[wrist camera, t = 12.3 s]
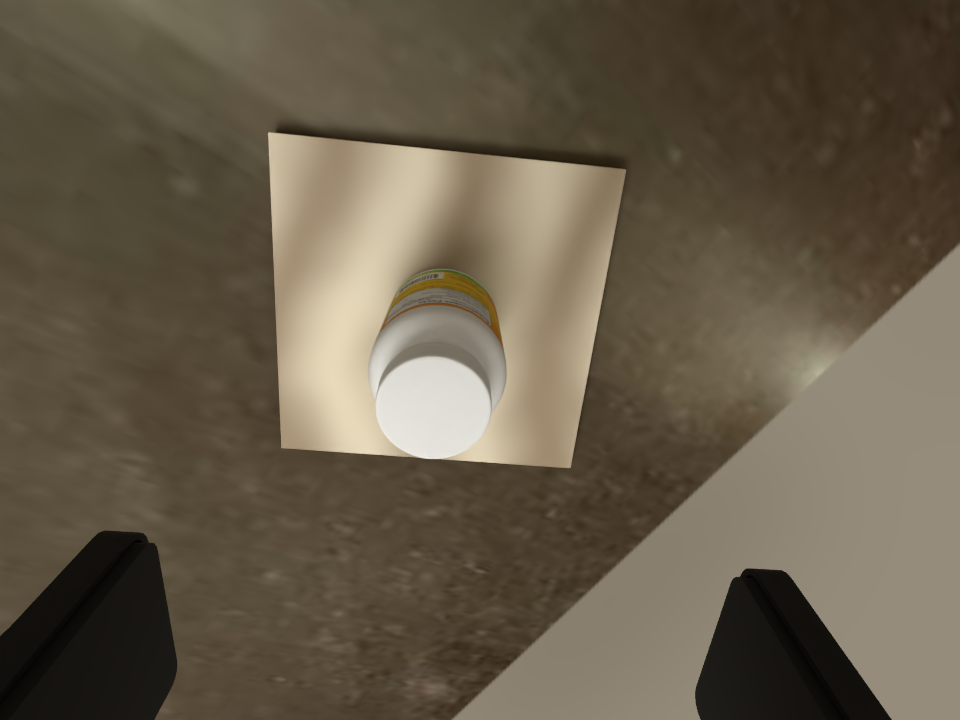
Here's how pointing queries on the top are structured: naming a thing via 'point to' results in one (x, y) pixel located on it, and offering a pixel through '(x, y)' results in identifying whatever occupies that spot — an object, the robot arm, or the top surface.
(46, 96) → the top surface
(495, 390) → the supplement bottle
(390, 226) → the birch board
